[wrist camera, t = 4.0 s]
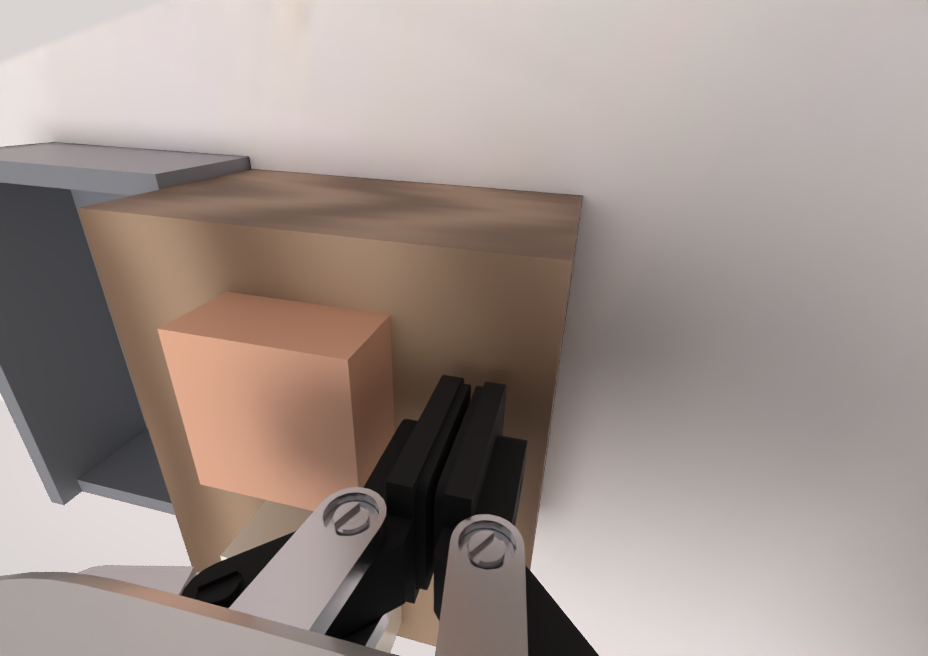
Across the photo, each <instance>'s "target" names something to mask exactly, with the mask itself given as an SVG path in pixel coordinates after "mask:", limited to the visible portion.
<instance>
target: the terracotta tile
mask: <svg viewBox="0 0 928 656" xmlns="http://www.w3.org/2000/svg"><path fill="white" fill-rule="evenodd" d="M157 330H158V333H159V337H160V341H161V344H162V348H163V352H164V355H165V359H166V362H167V366H168V370H169V373H170V377H171V380H172V384H173V388H174V391H175V395H176V398H177V402H178V406H179V409H180V413H181V416H182V420H183V424H184V427H185V431H186V434H187V438H188V442H189V445H190V449H191V453H192V456H193V460H194V463H195V467H196V471H197V474H198V478H199V481H200V484H201V485H205V486H210V487H214V488H218V489H222V490H226V491H231V492H235V493H239V494H243V495H248V496H252V497H256V498H260V499H264V500H269V501H273V502H277V503H281V504H286V505H290V506H294V507H298V508H302V509H307V510H311V511H315V509H316V508H317V507H318V506H319V505H320V504H321V503H322V502H323V501H324V500H325V499H326V498H327V497H328V496H329V495H331V494H333V493H335V492H337V491H339V490H343V489H346V488H352V487H362V488H363V487H364V485H365V484H366V482H367V480H368V478H369V477H370V475H371V473H372V472H373V470H374V468H375V466H376V465H377V463H378V461H379V459H380V458H381V456H382V454H383V452H384V451H385V449H386V447H387V446H388V444H389V442H390V440H391V439H392V437H393V435H394V433H395V426H394V399H393V373H392V346H391V320H390V315H389V314H382V313H375V312H368V311H361V310H354V309H347V308H340V307H332V306H325V305H318V304H311V303H304V302H297V301H290V300H283V299H276V298H268V297H261V296H254V295H247V294H240V293H233V292H225V293H223V294H221V295H219V296H217V297H216V298H214V299H212V300H210V301H208V302H206V303H204V304H202V305H201V306H199V307H197V308H195V309H193V310H191V311H189V312H188V313H186V314H184V315H182V316H180V317H178V318H176V319H174V320H173V321H171V322H169V323H167V324H165V325H163V326H161V327H160V328H158V329H157Z"/></svg>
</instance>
